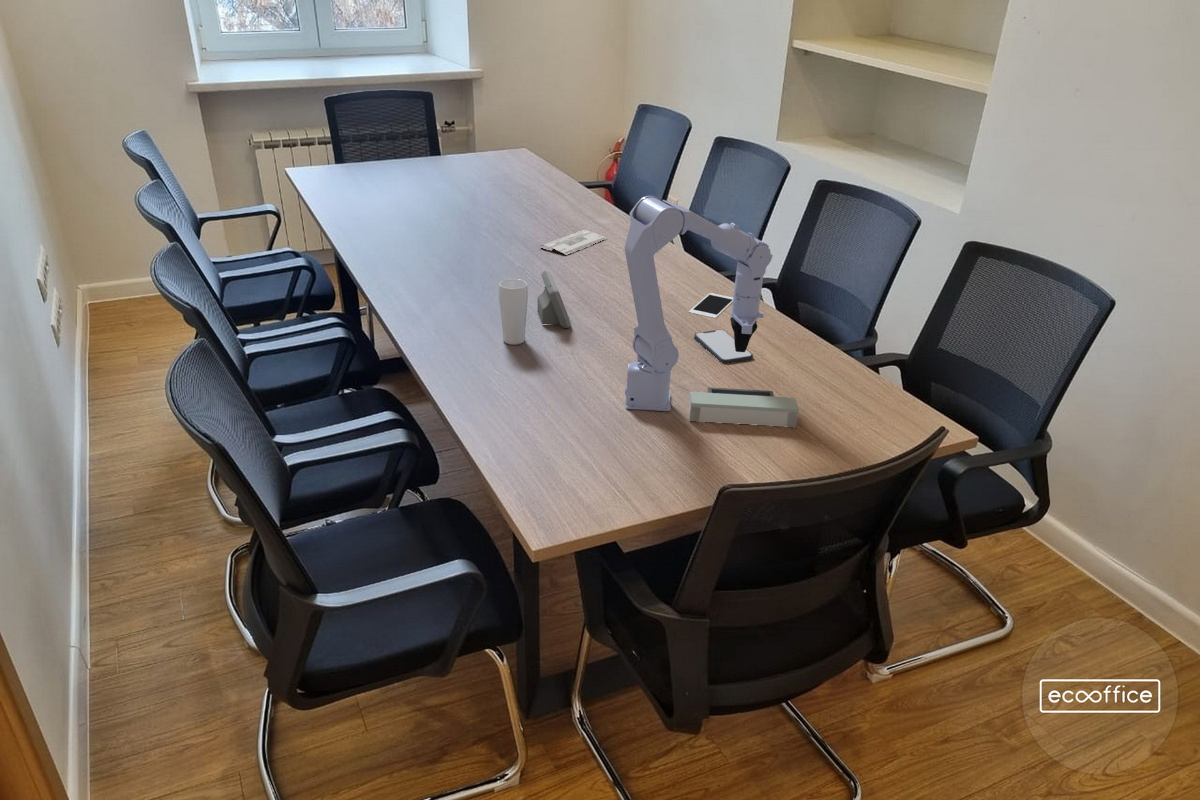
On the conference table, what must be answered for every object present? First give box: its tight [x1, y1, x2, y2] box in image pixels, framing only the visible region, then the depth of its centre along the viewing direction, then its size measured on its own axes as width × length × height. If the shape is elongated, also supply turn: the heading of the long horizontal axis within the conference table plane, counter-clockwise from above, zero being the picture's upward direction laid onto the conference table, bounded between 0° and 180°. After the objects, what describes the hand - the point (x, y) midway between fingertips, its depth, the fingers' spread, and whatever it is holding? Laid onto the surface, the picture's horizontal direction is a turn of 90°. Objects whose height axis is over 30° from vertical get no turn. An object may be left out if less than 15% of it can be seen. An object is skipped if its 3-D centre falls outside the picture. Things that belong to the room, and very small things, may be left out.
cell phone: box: [688, 292, 733, 319], centre depth 238 cm, size 8×16×1 cm, turn 153°
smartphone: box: [693, 329, 754, 364], centre depth 214 cm, size 9×2×16 cm
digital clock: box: [537, 270, 572, 329], centre depth 224 cm, size 16×9×11 cm, turn 0°
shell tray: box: [706, 386, 775, 397], centre depth 187 cm, size 14×8×3 cm, turn 87°
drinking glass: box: [498, 278, 529, 346], centre depth 210 cm, size 7×7×15 cm
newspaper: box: [540, 229, 608, 255], centre depth 280 cm, size 23×12×2 cm, turn 144°
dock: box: [688, 391, 800, 428], centre depth 183 cm, size 22×6×4 cm, turn 86°
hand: (740, 350), depth 193 cm, fingers closed
